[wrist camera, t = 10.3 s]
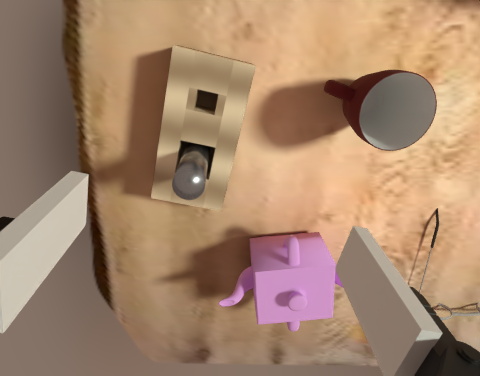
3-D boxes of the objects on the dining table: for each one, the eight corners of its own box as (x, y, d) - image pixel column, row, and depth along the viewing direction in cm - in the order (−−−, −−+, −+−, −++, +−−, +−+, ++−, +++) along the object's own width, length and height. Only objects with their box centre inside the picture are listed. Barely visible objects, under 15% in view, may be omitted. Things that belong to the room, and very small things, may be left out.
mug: (303, 119, 44) (325, 138, 35) (322, 54, 41) (351, 56, 32) (377, 135, 45) (417, 157, 36) (401, 73, 42) (451, 81, 33)
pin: (187, 136, 43) (174, 166, 32) (211, 141, 43) (207, 173, 32) (183, 159, 44) (169, 196, 33) (206, 164, 45) (201, 202, 34)
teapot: (276, 306, 56) (288, 362, 46) (218, 260, 52) (217, 311, 42) (347, 249, 52) (377, 297, 42) (291, 195, 48) (309, 234, 38)
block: (178, 45, 40) (172, 45, 35) (251, 63, 41) (255, 65, 36) (157, 183, 46) (150, 198, 42) (221, 195, 48) (221, 211, 43)
